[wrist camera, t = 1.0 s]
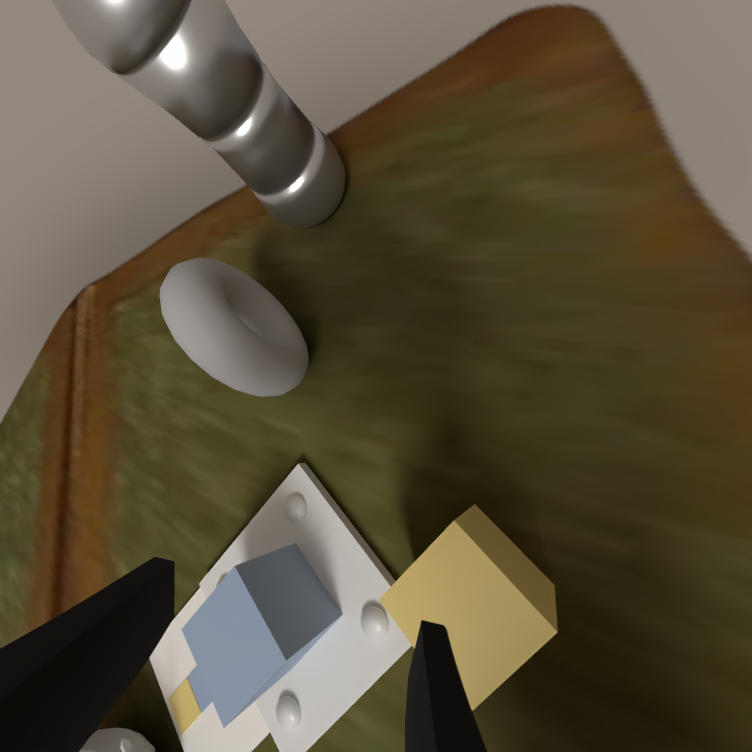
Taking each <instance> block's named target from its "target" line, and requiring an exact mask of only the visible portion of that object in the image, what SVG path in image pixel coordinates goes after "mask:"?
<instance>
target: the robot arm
mask: <svg viewBox="0 0 752 752" xmlns="http://www.w3.org/2000/svg"><path fill="white" fill-rule="evenodd" d="M173 618H174V561H170V560H166V559H162V558H158V557H154V558H152V559H151V560H149V561H147V562H146V563H144V564H142V565H141V566H139V567H138V568H136V569H134V570H133V571H131V572H129V573H128V574H126V575H125V576H123V577H121V578H120V579H118V580H117V581H115V582H113V583H112V584H110V585H109V586H107V587H105V588H104V589H102V590H100V591H99V592H97V593H96V594H94V595H92V596H91V597H89V598H87V599H86V600H84V601H82V602H81V603H79V604H77V605H76V606H74V607H72V608H71V609H69V610H67V611H66V612H64V613H62V614H61V615H59V616H57V617H56V618H54V619H52V620H50V621H49V622H47V623H45V624H43V625H42V626H40V627H38V628H36V629H35V630H33V631H31V632H29V633H27V634H26V635H24V636H22V637H20V638H19V639H17V640H15V641H13V642H12V643H10V644H8V645H6V646H5V647H3V648H1V649H0V752H79V751H80V750H81V748H82V747H83V746H84V744H85V743H86V742H87V740H88V739H89V738H90V736H91V735H92V734H93V732H94V731H95V730H96V728H97V727H98V726H99V724H100V723H101V722H102V721H103V719H104V718H105V717H106V715H107V714H108V713H109V711H110V710H111V709H112V707H113V706H114V705H115V703H116V702H117V701H118V699H119V698H120V697H121V695H122V694H123V693H124V691H125V690H126V689H127V687H128V686H129V685H130V683H131V682H132V681H133V679H134V678H135V677H136V675H137V674H138V673H139V671H140V670H141V669H142V667H143V666H144V664H145V663H146V662H147V660H148V659H149V658H150V656H151V654H152V653H153V651H154V650H155V648H156V646H157V645H158V643H159V642H160V640H161V638H162V637H163V635H164V633H165V632H166V630H167V628H168V627H169V625H170V623H171V622H172V620H173ZM405 752H487V750H486V747H485V744H484V742H483V739H482V737H481V734H480V731H479V729H478V726H477V723H476V720H475V718H474V715H473V712H472V709H471V707H470V704H469V701H468V698H467V695H466V692H465V689H464V687H463V683H462V680H461V677H460V674H459V671H458V668H457V665H456V661H455V658H454V654H453V651H452V647H451V644H450V640H449V636H448V632H447V629H446V627H445V626H444V625H441V624H437V623H433V622H428V621H424V620H421V624H420V628H419V632H418V637H417V641H416V645H415V650H414V654H413V658H412V662H411V667H410V671H409V675H408V689H407V703H406V719H405Z"/></svg>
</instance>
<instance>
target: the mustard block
mask: <svg viewBox="0 0 752 752" xmlns="http://www.w3.org/2000/svg"><path fill="white" fill-rule="evenodd" d="M379 600H380V602H381V603H382V604H383V606H384V607H385V609H386V610H387V611H388V613H389V614H390V615H391V617H392V618H393V620H394V621H395V622H396V624H397V625H398V627H399V628H400V629H401V631H402V632H403V634H404V635H405V636H406V638H407V639H408V640H409V642H410V643H411V645H412V646H413V647H414V649H415V645H416V641H417V637H418V632H419V628H420V624H421V620H424V621H428V622H433V623H437V624H441V625H444V626H445V627H446V629H447V632H448V636H449V640H450V644H451V647H452V651H453V654H454V658H455V661H456V665H457V668H458V671H459V674H460V677H461V680H462V683H463V687H464V689H465V692H466V695H467V698H468V701H469V704H470V707H471V709H472V711H473V710H474V709H475V708H476V707H477V706H478V705H479V704H480V703H481V702H483V701H484V700H485V699H486V698H487V697H488V696H489V695H490V694H491V693H492V692H493V691H495V690H496V689H497V688H498V687H499V686H500V685H501V684H502V683H503V682H504V681H505V680H506V679H508V678H509V677H510V676H511V675H512V674H513V673H514V672H515V671H516V670H517V669H518V668H519V667H521V666H522V665H523V664H524V663H525V662H526V661H527V660H528V659H529V658H530V657H531V656H533V655H534V654H535V653H536V652H537V651H538V650H539V649H540V648H541V647H542V646H543V645H544V644H546V643H547V642H548V641H549V640H550V639H551V638H552V637H553V636H554V635H555V634H556V633H558V629H557V614H556V598H555V585H554V584H553V583H552V582H551V581H550V580H549V579H548V578H547V577H546V576H545V575H544V574H543V573H542V572H541V571H540V570H539V569H538V568H537V567H536V566H535V565H534V564H533V563H532V562H531V561H530V560H529V559H528V557H527V556H526V555H525V554H524V553H523V552H522V551H521V550H520V549H519V548H518V547H517V546H516V545H515V544H514V543H513V542H512V541H511V540H510V539H509V538H508V537H507V536H506V535H505V534H504V533H503V532H502V531H501V530H500V529H499V528H498V527H497V526H496V525H495V524H494V523H493V522H492V521H491V520H490V519H489V518H488V517H487V516H486V515H485V514H484V513H483V512H482V511H481V510H480V509H479V508H478V507H477V506H476V505H475V504H474V505H473V506H472V507H470V508H469V509H468V510H467V511H465V512H464V513H463V514H461V515H460V516H459V517H458V518H456V519H455V520H454V521H453V522H452V523H451V524H450V525H449V526H448V527H447V528H446V529H445V530H444V531H443V532H442V534H441V535H440V536H439V537H438V538H437V539H436V540H435V541H434V542H433V543H432V544H431V545H430V546H429V547H428V548H427V549H426V550H425V551H424V552H423V554H422V555H421V556H420V557H419V558H418V559H417V560H416V561H415V562H414V563H413V564H412V565H411V566H410V567H409V568H408V569H407V570H406V571H405V572H404V574H403V575H402V576H401V577H400V578H399V579H398V580H397V581H396V582H395V583H394V584H393V585H392V586H391V587H390V588H389V589H388V590H387V591H386V592H385V594H384V595H383V596H382V597H381V598H380V599H379Z"/></svg>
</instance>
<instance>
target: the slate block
mask: <svg viewBox="0 0 752 752" xmlns="http://www.w3.org/2000/svg"><path fill="white" fill-rule="evenodd" d="M342 615H343V614H342V613H341V611H340V610H339V608H338V607H337V605H336V604H335V602H334V601H333V599H332V597H331V596H330V594H329V593H328V591H327V590H326V588H325V587H324V585H323V584H322V582H321V581H320V579H319V578H318V576H317V575H316V573H315V572H314V570H313V568H312V567H311V565H310V564H309V562H308V561H307V559H306V558H305V556H304V555H303V553H302V552H301V550H300V549H299V547H298V546H297V544H296V543H294V544H291V545H289V546H286V547H283V548H281V549H278V550H275V551H273V552H270V553H267V554H265V555H262V556H259V557H257V558H254V559H251V560H249V561H246V562H243V563H241V564H238V565H235V566H234V567H233V568H232V569H231V571H230V572H229V573H228V574H227V575H226V577H225V578H224V579H223V580H222V581H221V583H220V584H219V585H218V586H217V587H216V589H215V590H214V591H213V592H212V593H211V594H210V596H209V597H208V598H207V599H206V600H205V602H204V603H203V604H202V605H201V606H200V608H199V609H198V610H197V611H196V612H195V614H194V615H193V616H192V617H191V618H190V620H189V621H188V622H187V623H186V624H185V626H184V627H183V628H182V632H183V634H184V636H185V639H186V641H187V643H188V646H189V648H190V650H191V653H192V655H193V657H194V660H195V662H196V664H197V667H198V669H199V671H200V674H201V676H202V678H203V681H204V683H205V685H206V688H207V690H208V692H209V695H210V697H211V699H212V702H213V704H214V707H215V709H216V711H217V714H218V716H219V718H220V721H221V723H222V725H223V728H225V727H226V726H227V725H228V724H229V723H230V722H232V721H233V720H234V719H235V718H236V717H237V716H238V715H240V714H241V713H242V712H243V711H244V710H245V709H247V708H248V707H249V706H250V705H251V704H252V703H253V702H255V701H256V700H257V699H258V698H259V697H260V696H262V695H263V694H264V693H265V692H266V691H267V690H268V689H270V688H271V687H272V686H273V685H274V684H275V683H277V682H278V681H279V680H280V679H281V678H282V677H283V676H285V675H286V674H287V673H288V672H289V671H290V670H292V668H293V667H294V666H295V665H296V664H297V663H298V662H299V661H300V660H301V659H302V658H303V657H304V656H305V655H306V653H307V652H308V651H309V650H310V649H311V648H312V647H313V646H314V645H315V644H316V643H317V642H318V641H319V640H320V638H321V637H322V636H323V635H324V634H325V633H326V632H327V631H328V630H329V629H330V628H331V627H332V626H333V625H334V623H335V622H336V621H337V620H338V619H339V618H340V617H341V616H342Z"/></svg>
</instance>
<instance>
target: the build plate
mask: <svg viewBox="0 0 752 752" xmlns="http://www.w3.org/2000/svg"><path fill="white" fill-rule="evenodd" d="M294 543H296V544H297V546H298V547H299V549H300V550H301V552H302V553H303V555H304V556H305V558H306V559H307V561H308V562H309V564H310V565H311V567H312V568H313V570H314V572H315V573H316V575H317V576H318V578H319V579H320V581H321V582H322V584H323V585H324V587H325V588H326V590H327V591H328V593H329V594H330V596H331V597H332V599H333V601H334V602H335V604H336V605H337V607H338V608H339V610H340V611H341V613H342V614H343V615H342V616H341V617H340V618H339V619H338V620H337V621H336V622H335V623H334V625H333V626H332V627H331V628H330V629H329V630H328V631H327V632H326V633H325V634H324V635H323V636H322V637H321V638H320V640H319V641H318V642H317V643H316V644H315V645H314V646H313V647H312V648H311V649H310V650H309V651H308V652H307V653H306V655H305V656H304V657H303V658H302V659H301V660H300V661H299V662H298V663H297V664H296V665H295V666H294V667H293V668H292V670H290V671H289V672H288V673H287V674H286V675H285V676H283V677H282V678H281V679H280V680H279V681H278V682H277V683H275V684H274V685H273V686H272V687H271V688H270V689H268V690H267V691H266V692H265V693H264V694H263V695H262V696H260V697H259V698H258V699H257V700H256V703H257V706H258V708H259V710H260V712H261V714H262V716H263V718H264V720H265V722H266V724H267V726H268V728H269V731H270V733H271V735H272V737H273V739H274V741H275V743H276V745H277V747H278V749H279V751H280V752H306V751H307V750H308V749H309V748H310V747H311V746H312V745H313V744H314V743H315V742H316V741H317V740H318V739H319V738H320V737H321V736H322V735H323V734H324V733H325V732H326V731H327V730H328V729H329V728H330V727H331V726H332V725H333V724H334V723H335V722H336V721H337V720H338V719H339V718H340V717H341V716H342V715H343V714H344V713H345V712H346V711H347V710H348V709H349V708H350V707H351V706H352V705H353V704H354V703H355V702H356V701H357V700H358V699H359V698H360V697H361V696H362V695H363V694H364V693H365V692H366V691H367V690H368V689H369V688H370V687H371V686H372V685H373V684H374V683H375V682H376V681H377V680H378V679H379V678H380V677H381V676H382V675H383V674H384V673H385V672H386V671H387V670H388V669H389V668H390V667H391V666H392V665H393V664H394V663H395V662H396V661H397V660H398V659H399V658H400V657H401V656H402V655H403V654H404V653H405V652H406V651H407V650H408V649H409V648H410V647H411V646H412V645H411V643H410V642H409V640H408V639H407V638H406V636H405V635H404V634H403V632H402V631H401V629H400V628H399V627H398V625H397V624H396V622H395V621H394V620H393V618H392V617H391V615H390V614H389V613H388V611H387V610H386V609H385V607H384V606H383V604H382V603H381V602H380V600H379V599H380V598H381V597H382V596H383V595H384V594H385V592H386V591H387V590H388V589H389V588H390V587H391V586H392V585H393V584H394V583H395V582H396V581H395V580H394V578H393V577H392V576H391V574H390V573H389V572H388V570H387V569H386V568H385V566H384V565H383V564H382V563H381V561H380V560H379V559H378V557H377V556H376V555H375V553H374V552H373V551H372V549H371V548H370V547H369V546H368V544H367V543H366V542H365V540H364V539H363V538H362V536H361V535H360V534H359V532H358V531H357V530H356V528H355V527H354V526H353V525H352V523H351V522H350V521H349V519H348V518H347V517H346V515H345V514H344V513H343V511H342V510H341V509H340V508H339V506H338V505H337V504H336V502H335V501H334V500H333V498H332V497H331V496H330V494H329V493H328V492H327V490H326V489H325V488H324V487H323V485H322V484H321V483H320V481H319V480H318V479H317V477H316V476H315V475H314V473H313V472H312V471H311V470H310V468H309V467H308V466H307V464H306V463H298V464H297V466H296V467H295V468H294V469H293V470H292V472H291V473H290V474H289V475H288V477H287V478H286V479H285V480H284V481H283V483H282V484H281V485H280V486H279V487H278V489H277V490H276V491H275V492H274V494H273V495H272V496H271V497H270V498H269V500H268V501H267V502H266V503H265V504H264V506H263V507H262V508H261V509H260V511H259V512H258V513H257V514H256V515H255V517H254V518H253V519H252V520H251V521H250V523H249V524H248V525H247V526H246V527H245V529H244V530H243V531H242V532H241V534H240V535H239V536H238V537H237V538H236V540H235V541H234V542H233V543H232V544H231V546H230V547H229V548H228V549H227V551H226V552H225V553H224V554H223V555H222V557H221V558H220V559H219V560H218V561H217V563H216V564H215V565H214V566H213V568H212V569H211V570H210V571H209V572H208V574H207V575H206V576H205V577H204V578H203V580H202V581H201V582H200V583H199V585H200V587H201V589H202V591H203V593H204V595H205V597H206V599H207V598H208V597H209V596H210V594H211V593H212V592H213V591H214V590H215V589H216V587H217V586H218V585H219V584H220V583H221V581H222V580H223V579H224V578H225V577H226V575H227V574H228V573H229V572H230V571H231V569H232V568H233V567H234V566H235V565H238V564H241V563H243V562H246V561H249V560H251V559H254V558H257V557H259V556H262V555H265V554H267V553H270V552H273V551H275V550H278V549H281V548H283V547H286V546H289V545H291V544H294Z"/></svg>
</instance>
